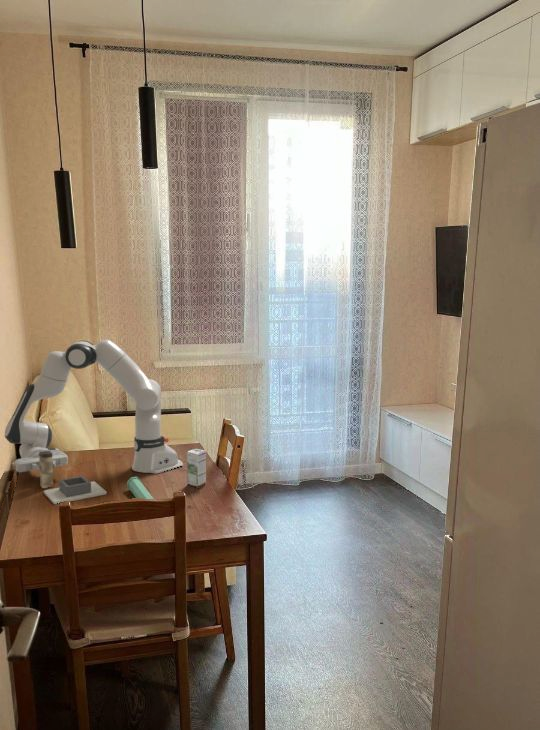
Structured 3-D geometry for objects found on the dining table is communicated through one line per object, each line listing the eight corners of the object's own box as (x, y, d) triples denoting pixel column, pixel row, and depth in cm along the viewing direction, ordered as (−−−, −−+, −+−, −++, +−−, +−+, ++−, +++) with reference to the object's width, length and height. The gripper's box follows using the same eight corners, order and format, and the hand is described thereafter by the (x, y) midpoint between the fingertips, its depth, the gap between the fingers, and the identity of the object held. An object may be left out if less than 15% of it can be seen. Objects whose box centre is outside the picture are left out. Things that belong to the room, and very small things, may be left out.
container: (155, 496, 219) (137, 473, 240) (140, 504, 216) (124, 481, 238) (161, 509, 220) (143, 486, 242) (146, 517, 218) (129, 493, 240)
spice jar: (50, 483, 245) (49, 450, 243) (53, 486, 242) (52, 453, 239) (40, 485, 243) (39, 452, 240) (43, 488, 239) (41, 454, 237)
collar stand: (94, 483, 246) (93, 471, 245) (106, 494, 235) (106, 481, 234) (43, 492, 235) (43, 480, 234) (54, 504, 223) (53, 491, 223)
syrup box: (206, 484, 249) (206, 450, 247) (197, 488, 244) (197, 453, 242) (195, 481, 252) (196, 447, 250) (186, 485, 247) (186, 451, 245)
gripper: (10, 455, 245) (19, 464, 234) (61, 447, 257) (71, 456, 245) (11, 470, 246) (19, 479, 235) (62, 461, 258) (72, 470, 246)
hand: (46, 467), depth 240 cm, fingers closed on spice jar, 4 cm apart
